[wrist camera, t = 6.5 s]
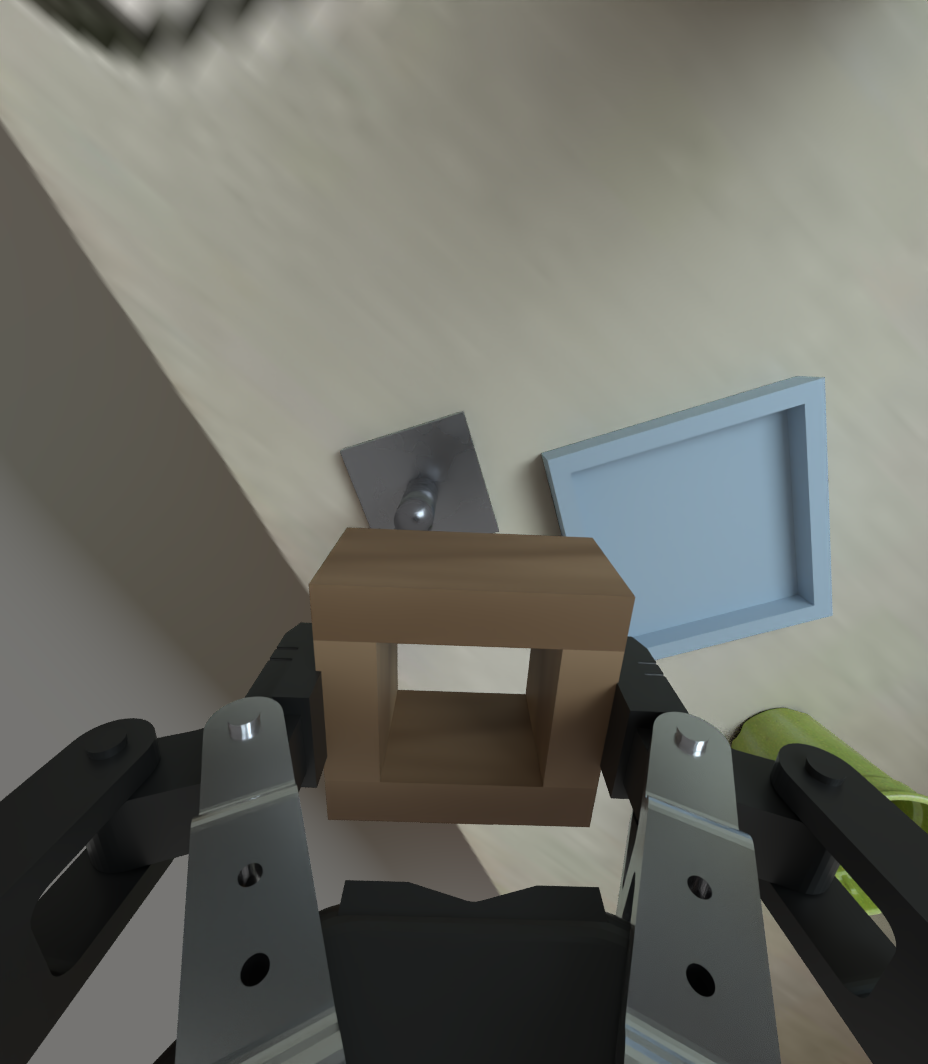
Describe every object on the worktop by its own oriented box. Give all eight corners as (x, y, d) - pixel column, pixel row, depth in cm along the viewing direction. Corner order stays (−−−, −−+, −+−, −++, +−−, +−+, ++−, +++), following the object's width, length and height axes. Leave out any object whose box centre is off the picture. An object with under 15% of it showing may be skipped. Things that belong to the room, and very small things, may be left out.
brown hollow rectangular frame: (347, 527, 11) (308, 584, 8) (592, 537, 11) (635, 596, 9) (358, 774, 14) (332, 878, 11) (554, 780, 14) (577, 884, 11)
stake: (343, 448, 26) (312, 471, 20) (463, 410, 25) (464, 424, 20) (387, 558, 28) (369, 606, 23) (497, 526, 27) (507, 567, 22)
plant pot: (687, 720, 33) (762, 840, 24) (820, 664, 31) (948, 772, 23) (729, 804, 35) (809, 936, 27) (853, 757, 34) (977, 882, 26)
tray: (541, 453, 26) (547, 460, 24) (796, 376, 25) (824, 377, 23) (591, 654, 31) (599, 673, 29) (808, 599, 29) (832, 615, 27)
